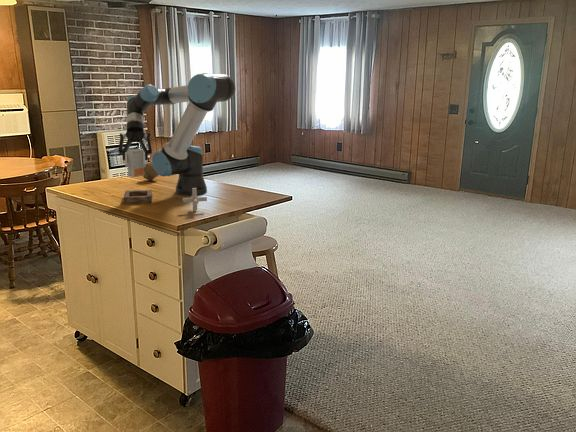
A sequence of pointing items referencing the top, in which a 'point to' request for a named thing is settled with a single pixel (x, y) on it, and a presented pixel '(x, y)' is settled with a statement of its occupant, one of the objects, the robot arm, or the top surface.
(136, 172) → the skincare box
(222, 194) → the top surface
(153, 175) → the natural sponge
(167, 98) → the robot arm
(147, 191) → the socket
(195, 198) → the pipe connector
